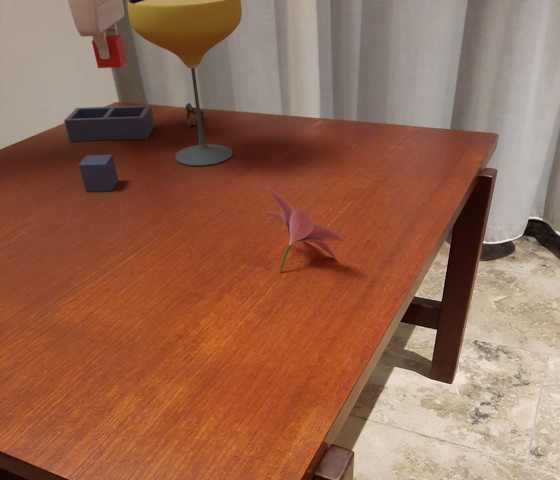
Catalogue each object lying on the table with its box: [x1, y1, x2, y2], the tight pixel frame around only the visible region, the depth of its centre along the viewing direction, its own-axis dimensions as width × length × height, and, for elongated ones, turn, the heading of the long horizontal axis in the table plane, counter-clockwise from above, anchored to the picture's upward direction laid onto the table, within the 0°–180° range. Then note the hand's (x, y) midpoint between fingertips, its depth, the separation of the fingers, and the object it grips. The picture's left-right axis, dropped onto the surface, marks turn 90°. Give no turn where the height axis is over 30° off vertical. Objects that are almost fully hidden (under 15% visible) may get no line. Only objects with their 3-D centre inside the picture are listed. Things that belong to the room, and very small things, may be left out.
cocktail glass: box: [127, 0, 243, 167], centre depth 96 cm, size 18×18×25 cm
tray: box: [63, 104, 155, 142], centre depth 115 cm, size 8×16×4 cm, turn 89°
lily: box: [264, 186, 348, 273], centre depth 71 cm, size 12×12×10 cm
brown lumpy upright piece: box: [185, 102, 205, 128], centre depth 118 cm, size 2×8×4 cm, turn 167°
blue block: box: [78, 154, 119, 193], centre depth 94 cm, size 4×4×4 cm
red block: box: [91, 34, 127, 69], centre depth 105 cm, size 4×4×4 cm
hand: (110, 54), depth 105 cm, fingers closed on red block, 4 cm apart
